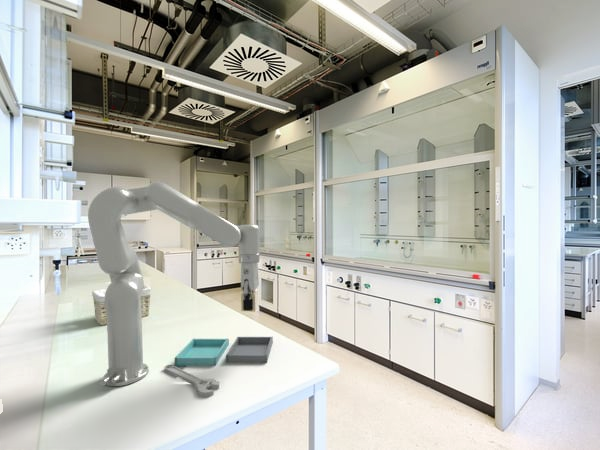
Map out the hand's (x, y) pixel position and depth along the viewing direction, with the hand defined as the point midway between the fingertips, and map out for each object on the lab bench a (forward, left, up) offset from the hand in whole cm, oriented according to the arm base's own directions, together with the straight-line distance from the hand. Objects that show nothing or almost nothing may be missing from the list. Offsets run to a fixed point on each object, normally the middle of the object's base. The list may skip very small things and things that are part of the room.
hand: (249, 307), depth 110 cm
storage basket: (+40, +73, -18) cm, 85 cm away
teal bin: (-2, +17, -17) cm, 24 cm away
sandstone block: (0, 0, -1) cm, 1 cm away
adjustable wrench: (-17, +15, -18) cm, 29 cm away
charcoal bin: (0, 0, -17) cm, 17 cm away
